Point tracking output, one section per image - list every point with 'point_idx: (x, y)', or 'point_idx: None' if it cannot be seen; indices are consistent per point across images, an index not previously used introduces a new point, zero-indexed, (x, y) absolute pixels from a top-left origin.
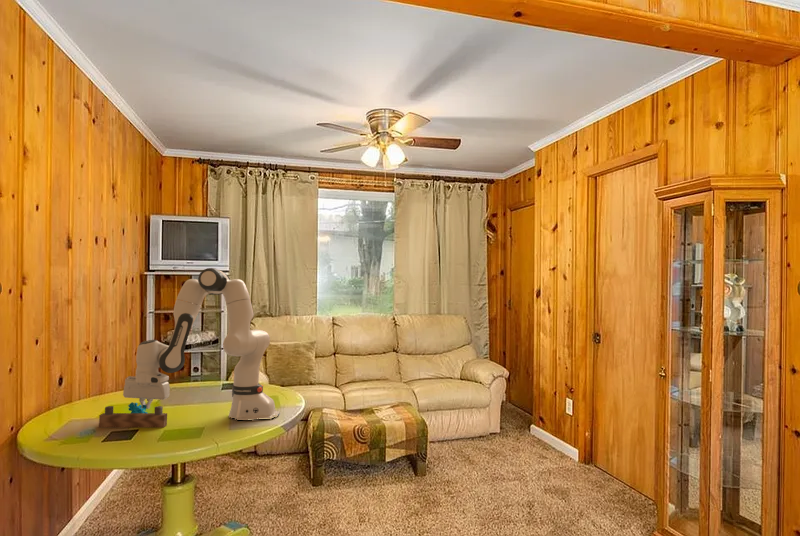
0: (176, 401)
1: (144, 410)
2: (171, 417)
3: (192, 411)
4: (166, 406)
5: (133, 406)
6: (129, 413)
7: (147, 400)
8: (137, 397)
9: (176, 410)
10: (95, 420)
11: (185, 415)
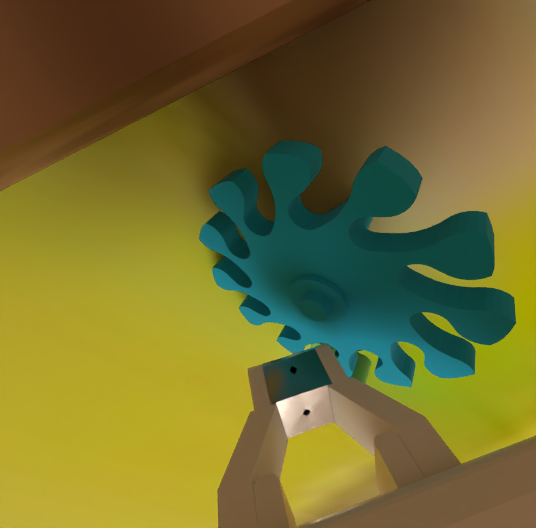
0: None
1: None
2: (112, 410)
3: (131, 517)
4: (355, 474)
5: (414, 287)
6: (225, 8)
7: (266, 491)
8: (513, 468)
9: None
10: None
11: (74, 474)
